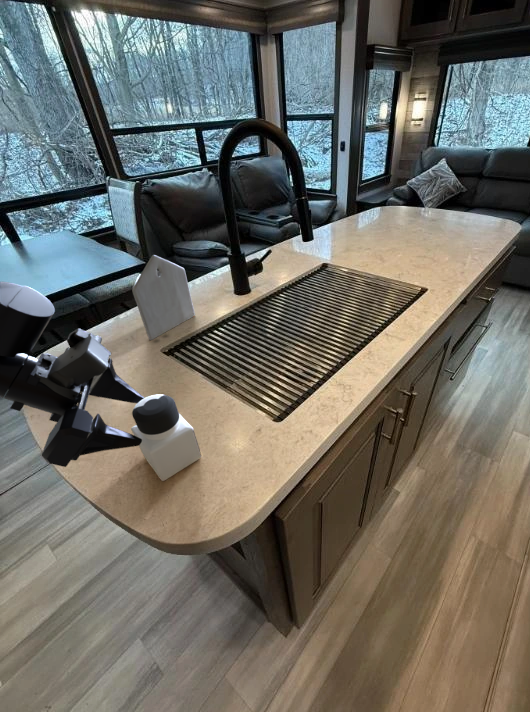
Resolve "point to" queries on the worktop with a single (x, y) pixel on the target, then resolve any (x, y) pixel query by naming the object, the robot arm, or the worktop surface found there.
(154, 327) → the grey house-shaped board
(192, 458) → the medicine bottle
